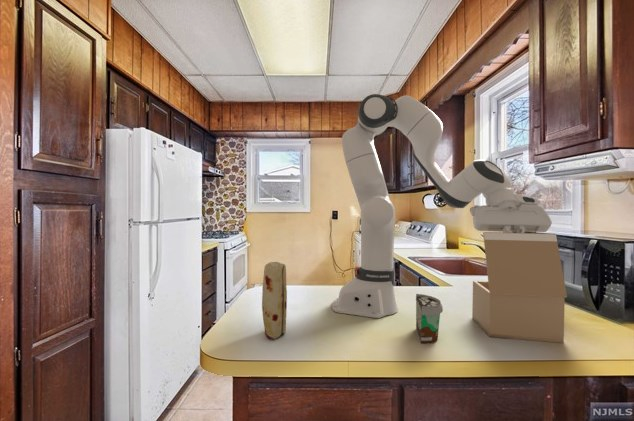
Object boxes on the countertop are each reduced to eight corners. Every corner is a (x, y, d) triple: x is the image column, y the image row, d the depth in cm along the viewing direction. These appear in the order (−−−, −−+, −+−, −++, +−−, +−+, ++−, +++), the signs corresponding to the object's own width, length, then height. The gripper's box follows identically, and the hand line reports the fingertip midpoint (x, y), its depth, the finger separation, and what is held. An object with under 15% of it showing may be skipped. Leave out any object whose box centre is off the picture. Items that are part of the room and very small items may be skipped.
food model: (264, 327, 87) (265, 259, 87) (287, 327, 87) (288, 259, 87) (259, 343, 77) (259, 265, 77) (285, 342, 78) (285, 265, 77)
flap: (489, 293, 82) (490, 293, 81) (483, 232, 87) (483, 232, 86) (565, 297, 78) (567, 297, 78) (554, 234, 83) (555, 233, 83)
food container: (447, 348, 75) (447, 308, 75) (421, 346, 76) (422, 307, 76) (437, 328, 87) (438, 294, 87) (415, 326, 88) (416, 293, 88)
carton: (489, 337, 82) (490, 293, 82) (472, 318, 96) (472, 280, 95) (563, 342, 79) (564, 297, 79) (534, 322, 92) (535, 283, 92)
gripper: (470, 198, 94) (482, 232, 85) (543, 198, 91) (563, 234, 81) (466, 212, 99) (476, 246, 89) (535, 213, 95) (553, 248, 86)
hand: (518, 240), depth 85 cm, fingers closed, pressing on flap
